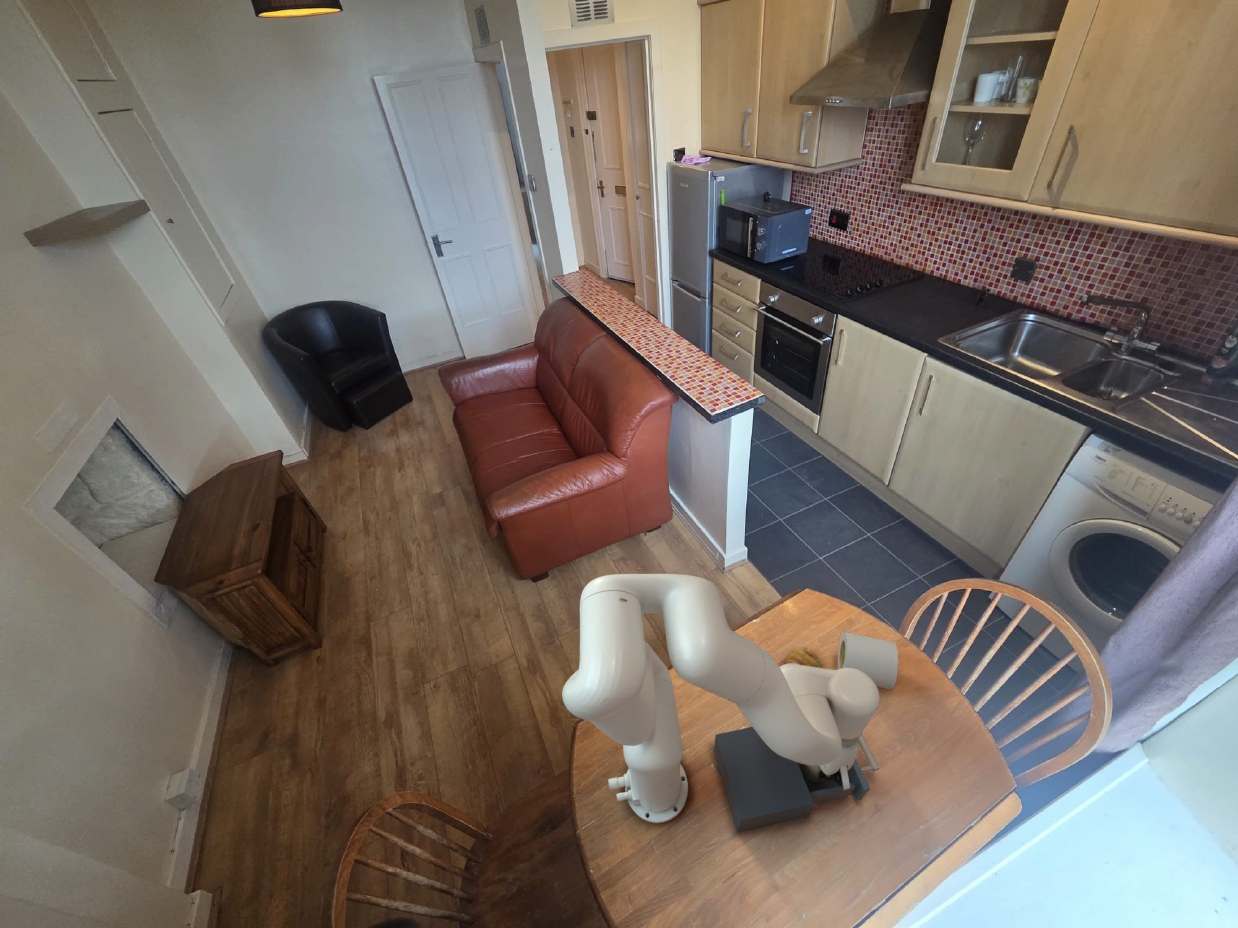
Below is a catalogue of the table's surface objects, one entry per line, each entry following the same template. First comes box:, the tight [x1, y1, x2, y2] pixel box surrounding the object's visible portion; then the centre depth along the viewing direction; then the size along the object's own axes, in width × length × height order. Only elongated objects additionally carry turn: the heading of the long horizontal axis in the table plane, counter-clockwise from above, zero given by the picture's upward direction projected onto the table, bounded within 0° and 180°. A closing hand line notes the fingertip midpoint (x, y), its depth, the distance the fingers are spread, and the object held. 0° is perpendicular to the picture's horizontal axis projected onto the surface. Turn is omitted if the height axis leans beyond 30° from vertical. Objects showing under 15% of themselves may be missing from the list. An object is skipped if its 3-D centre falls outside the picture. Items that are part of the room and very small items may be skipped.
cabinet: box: [713, 726, 815, 833], centre depth 99 cm, size 14×15×9 cm
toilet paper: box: [837, 631, 899, 691], centre depth 113 cm, size 10×10×10 cm
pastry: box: [784, 646, 823, 668], centre depth 116 cm, size 9×7×4 cm
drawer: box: [798, 733, 881, 806], centre depth 100 cm, size 17×13×7 cm
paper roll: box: [799, 763, 826, 783], centre depth 97 cm, size 6×6×12 cm
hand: (819, 756), depth 97 cm, fingers closed on paper roll, 5 cm apart
